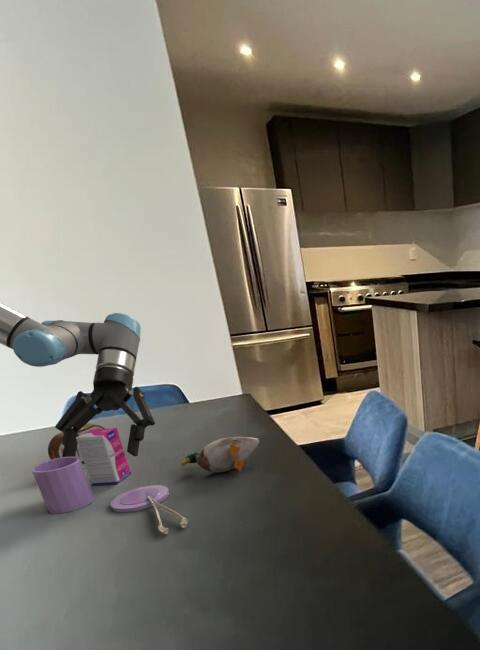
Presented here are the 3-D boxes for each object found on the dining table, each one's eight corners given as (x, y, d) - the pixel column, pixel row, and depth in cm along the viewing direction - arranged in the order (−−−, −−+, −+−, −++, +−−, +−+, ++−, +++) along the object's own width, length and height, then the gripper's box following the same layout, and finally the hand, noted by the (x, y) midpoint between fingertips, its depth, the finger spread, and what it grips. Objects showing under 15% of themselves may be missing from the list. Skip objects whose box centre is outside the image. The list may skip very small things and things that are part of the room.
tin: (106, 448, 131) (95, 418, 128) (116, 448, 131) (105, 418, 127) (54, 472, 118) (40, 439, 115) (64, 472, 117) (51, 439, 114)
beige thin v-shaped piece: (190, 526, 89) (187, 516, 88) (161, 536, 86) (158, 527, 85) (162, 498, 101) (160, 489, 100) (137, 507, 98) (134, 498, 97)
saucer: (107, 517, 94) (106, 513, 94) (115, 496, 103) (113, 492, 103) (168, 503, 98) (167, 499, 98) (170, 484, 107) (169, 480, 107)
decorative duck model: (168, 448, 109) (222, 425, 121) (180, 479, 112) (232, 453, 124) (212, 450, 102) (265, 425, 115) (224, 482, 105) (275, 454, 117)
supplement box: (119, 484, 109) (101, 435, 104) (91, 486, 109) (73, 437, 104) (132, 473, 114) (117, 426, 110) (106, 475, 114) (89, 428, 110)
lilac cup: (43, 517, 96) (25, 475, 92) (53, 501, 102) (37, 461, 99) (90, 507, 99) (75, 466, 95) (97, 492, 105) (82, 453, 102)
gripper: (177, 377, 120) (167, 457, 112) (70, 386, 118) (53, 468, 110) (160, 360, 113) (149, 444, 105) (48, 369, 111) (27, 455, 103)
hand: (100, 456), depth 108 cm, fingers open, 13 cm apart
